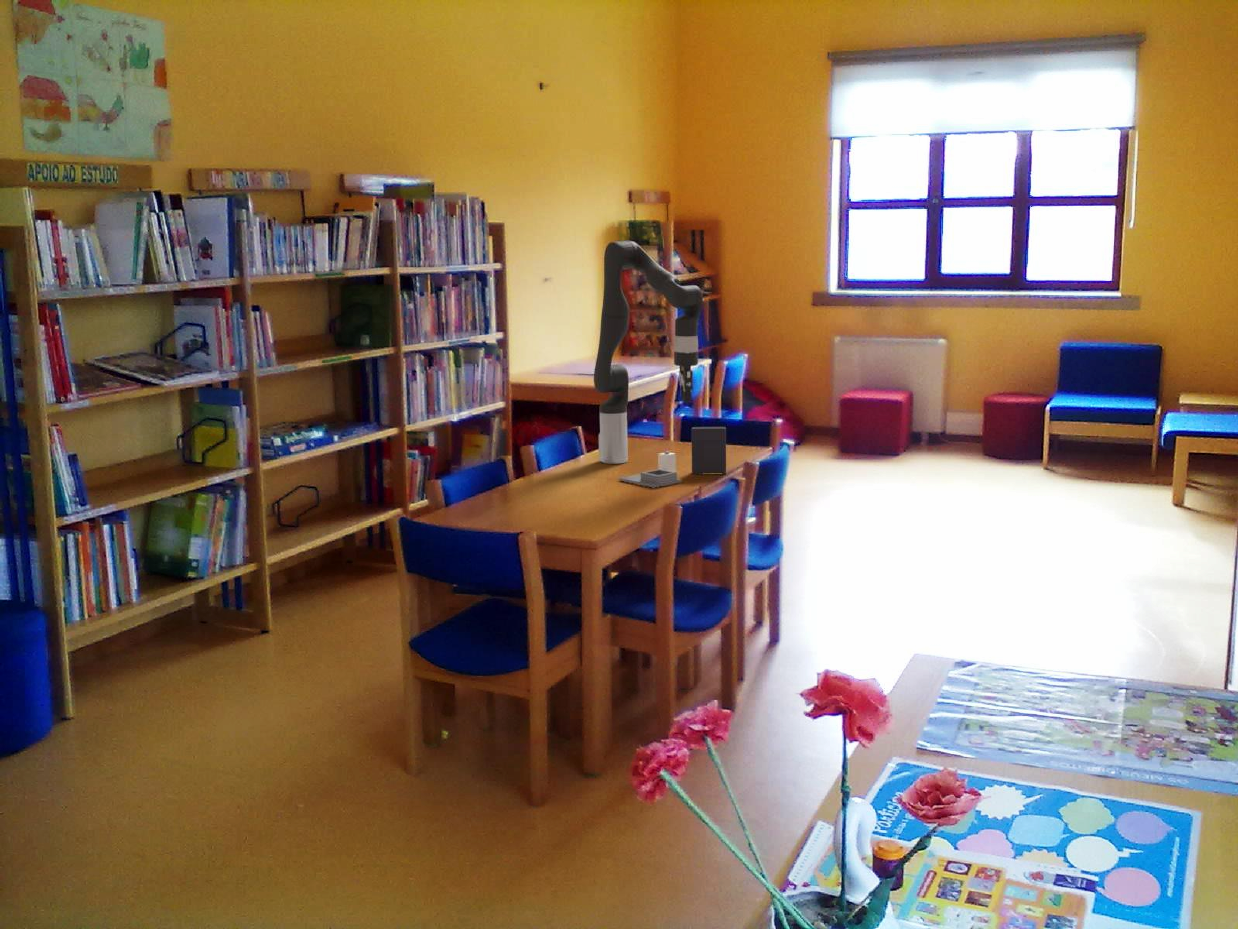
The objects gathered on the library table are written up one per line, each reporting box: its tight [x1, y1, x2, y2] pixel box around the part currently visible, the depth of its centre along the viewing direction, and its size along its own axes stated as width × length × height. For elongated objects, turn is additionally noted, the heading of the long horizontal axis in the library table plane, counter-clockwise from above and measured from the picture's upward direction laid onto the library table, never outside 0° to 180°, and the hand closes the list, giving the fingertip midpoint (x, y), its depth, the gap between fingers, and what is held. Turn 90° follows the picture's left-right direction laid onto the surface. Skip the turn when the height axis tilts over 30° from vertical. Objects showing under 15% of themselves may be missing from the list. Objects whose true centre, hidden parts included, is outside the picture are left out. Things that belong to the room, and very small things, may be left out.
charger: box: [657, 450, 677, 472], centre depth 386 cm, size 4×4×8 cm
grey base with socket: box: [618, 468, 682, 489], centre depth 377 cm, size 16×12×4 cm
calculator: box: [690, 426, 727, 475], centre depth 386 cm, size 11×4×15 cm, turn 84°
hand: (685, 401), depth 379 cm, fingers open, 8 cm apart
